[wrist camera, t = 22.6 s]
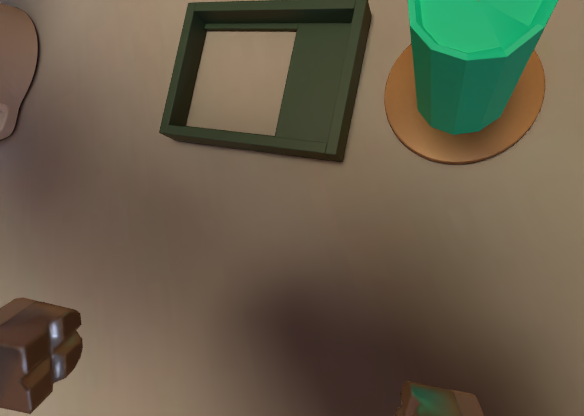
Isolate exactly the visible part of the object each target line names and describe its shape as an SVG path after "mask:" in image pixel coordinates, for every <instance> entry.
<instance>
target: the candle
mask: <svg viewBox="0 0 584 416" xmlns="http://www.w3.org/2000/svg"><path fill="white" fill-rule="evenodd" d="M557 2H558V0H408V9H409V21H410V32H411V43H412V54H413V65H414V76H415V87H416V97H417V108H418V111H419V112H420V114H421V115H422V116H423V117H424V119H425V120H426V121H427V122H428V124H429V125H430V126H431V127H433V128H436V129H438V130H441V131H444V132H447V133H449V134H452V135H456V134H464V133H471V132H479V131H480V130H482V129H483V128H485V127H486V126H488V125H489V124H491V123H492V122H493V121H495V120H496V119H498V118H499V117H500V116H501V114H502V112H503V110H504V108H505V107H506V105H507V103H508V101H509V99H510V97H511V95H512V93H513V91H514V89H515V87H516V85H517V83H518V81H519V79H520V77H521V75H522V73H523V71H524V69H525V67H526V64H527V62H528V60H529V58H530V56H531V54H532V52H533V50H534V48H535V46H536V44H537V42H538V40H539V38H540V36H541V34H542V32H543V30H544V28H545V26H546V24H547V22H548V20H549V18H550V16H551V14H552V12H553V10H554V8H555V6H556V4H557Z"/></svg>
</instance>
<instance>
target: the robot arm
mask: <svg viewBox="0 0 584 416" xmlns="http://www.w3.org/2000/svg"><path fill="white" fill-rule="evenodd" d="M37 54H38V42H37V35H36V31H35V27H34V25H33V23H32V21H31V19H30V18H29V16H28V15H27V14H26V13H25V12H23V11H22V10H20V9H18V8H15V7H12V6H8V5H5V4H2V3H0V140H1V139H3V138H6V137H8V136H9V135H10V134H11V133H12V132H13V130H14V127H15V124H16V120H17V115H18V110H19V107H20V104H21V102H22V100H23V98H24V96H25V94H26V92H27V90H28V88H29V86H30V83H31V81H32V78H33V75H34V71H35V67H36V62H37ZM80 325H81V316H80V313H79V312H78V311H76V310H74V309H70V308H66V307H62V306H58V305H53V304H49V303H45V302H39V301H35V300H31V299H27V298H17V299H14V300H12V301H11V302H9V303H8V304H6V305H5V306H3V307H1V308H0V408H5V409H10V410H14V411H19V412H24V413H29V414H31V413H32V412H33V411H34V410H35V409H36V408H37V407H38V406H39V405H40V404H41V403H42V402H43V401H44V400H45V399H46V398H47V397H48V396H49V394H50V393H51V392H52V391H53V383H55V382H57V381H59V380H61V379H64V378H66V377H67V376H68V375H69V374H70V373H71V372H72V371H73V369H74V368H75V366H76V365H77V363H78V361H79V359H80V357H81V353H82V348H83V344H82V338H81V337H80V335H79V334H78V332H77V331H76V330H77V329H78V328H79V327H80ZM401 400H402V406H400V407H399V408H397V409H396V412H395V416H484V414H483V412H482V409H481V407H480V404H479V402H478V399H477V397H476V396H475V395H474V394H471V393H466V392H461V391H455V390H448V389H443V388H438V387H433V386H428V385H424V384H419V383H414V382H409V381H406V382H405V383H404V385H403V388H402V391H401Z"/></svg>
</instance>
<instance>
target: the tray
mask: <svg viewBox="0 0 584 416" xmlns="http://www.w3.org/2000/svg"><path fill="white" fill-rule="evenodd" d="M370 21H371V12H370V8H369V3H368V0H269V1H232V2H196V3H188V7H187V11H186V16H185V20H184V25H183V29H182V34H181V38H180V42H179V47H178V51H177V56H176V60H175V65H174V69H173V73H172V78H171V82H170V87H169V91H168V96H167V100H166V105H165V109H164V113H163V118H162V122H161V127H160V131H159V133H161V134H163V135H165V136H167V137H170V138H172V139H174V140H179V141H186V142H194V143H202V144H209V145H217V146H225V147H232V148H240V149H248V150H255V151H263V152H271V153H278V154H286V155H294V156H301V157H309V158H317V159H324V160H333V161H339V162H342V161H343V157H344V152H345V147H346V142H347V137H348V132H349V127H350V122H351V117H352V112H353V107H354V101H355V96H356V91H357V86H358V81H359V76H360V71H361V66H362V61H363V56H364V51H365V46H366V41H367V36H368V31H369V26H370ZM206 30H207V31H297V32H296V37H295V42H294V47H293V52H292V56H291V61H290V66H289V71H288V76H287V80H286V85H285V90H284V95H283V99H282V104H281V109H280V114H279V119H278V123H277V128H276V133H275V136H269V135H260V134H251V133H242V132H233V131H225V130H216V129H207V128H198V127H189V126H185V124H186V120H187V115H188V111H189V106H190V102H191V97H192V93H193V88H194V84H195V79H196V75H197V70H198V66H199V61H200V57H201V52H202V48H203V43H204V39H205V34H206Z"/></svg>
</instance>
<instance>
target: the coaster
mask: <svg viewBox="0 0 584 416" xmlns="http://www.w3.org/2000/svg"><path fill="white" fill-rule="evenodd" d="M544 93H545V76H544V71H543V67H542V64H541V61H540V59H539V57H538V55H537V54H536V52H535V50H533V52H532V54H531V56H530V58H529V60H528V62H527V64H526V67H525V69H524V71H523V73H522V75H521V77H520V79H519V81H518V83H517V85H516V87H515V89H514V91H513V93H512V95H511V97H510V99H509V101H508V103H507V105H506V107H505V108H504V110H503V112H502V114H501V116H500V117H499V118H498V119H496V120H495V121H493V122H492V123H491V124H489V125H488V126H486V127H485V128H483V129H482V130H480V131H479V132H471V133H464V134H456V135H452V134H449V133H447V132H444V131H441V130H438V129H436V128H433V127H431V126H430V125H429V124H428V122H427V121H426V120H425V119H424V117H423V116H422V115H421V114H420V112H419V111H418V108H417V97H416V87H415V76H414V65H413V54H412V44H410V45H409V46H408V47H407V48H406V49H405V50H404V52H403V53H402V54H401V55H400V57H399V58H398V59H397V61H396V62H395V64H394V66H393V67H392V70H391V72H390V74H389V77H388V80H387V83H386V88H385V110H386V114H387V118H388V121H389V123H390V126H391V128H392V130H393V131H394V133H395V135H396V136H397V137H398V139H399V140H400V141H401V142H402V143H403V144H404V145H405V146H406V147H407V148H408V149H410V150H411V151H413V152H414V153H416V154H418V155H420V156H421V157H423V158H426V159H429V160H431V161H435V162H439V163H445V164H468V163H474V162H478V161H482V160H486V159H488V158H491V157H493V156H496V155H497V154H499V153H501V152H503V151H505V150H506V149H508V148H509V147H511V146H512V145H514V144H515V143H516V142H517V141H518V140H519V139H520V138H521V137H522V136H523V135H524V134H525V133H526V132H527V130H528V129H529V128H530V127H531V125H532V124H533V122H534V121H535V119H536V117H537V115H538V113H539V111H540V109H541V106H542V102H543V99H544Z"/></svg>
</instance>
